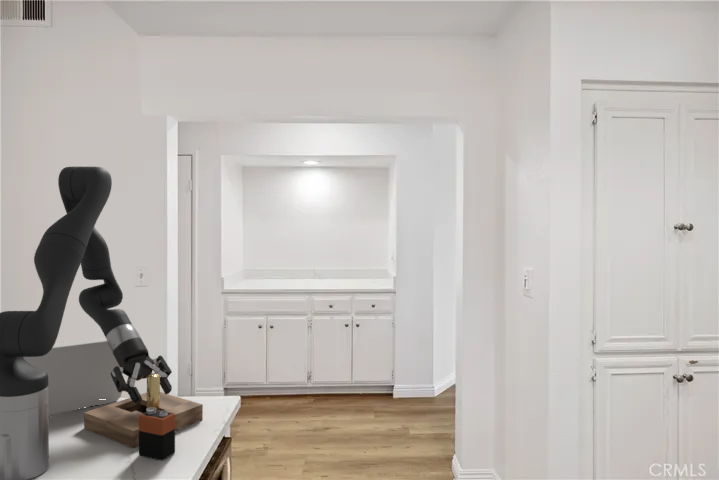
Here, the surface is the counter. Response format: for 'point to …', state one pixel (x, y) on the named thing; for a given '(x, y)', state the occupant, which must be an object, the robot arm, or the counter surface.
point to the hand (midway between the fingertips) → (154, 397)
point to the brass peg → (153, 391)
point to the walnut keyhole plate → (124, 417)
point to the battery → (156, 434)
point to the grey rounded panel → (78, 374)
